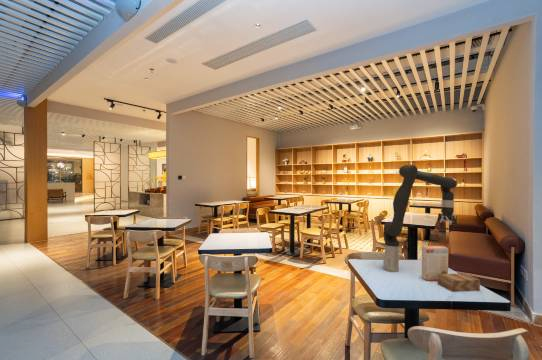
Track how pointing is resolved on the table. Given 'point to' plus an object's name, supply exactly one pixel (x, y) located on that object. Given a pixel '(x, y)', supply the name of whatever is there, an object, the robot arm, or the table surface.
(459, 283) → the walnut block
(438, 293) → the table surface
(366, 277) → the table surface
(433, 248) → the cracker box
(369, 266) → the table surface
